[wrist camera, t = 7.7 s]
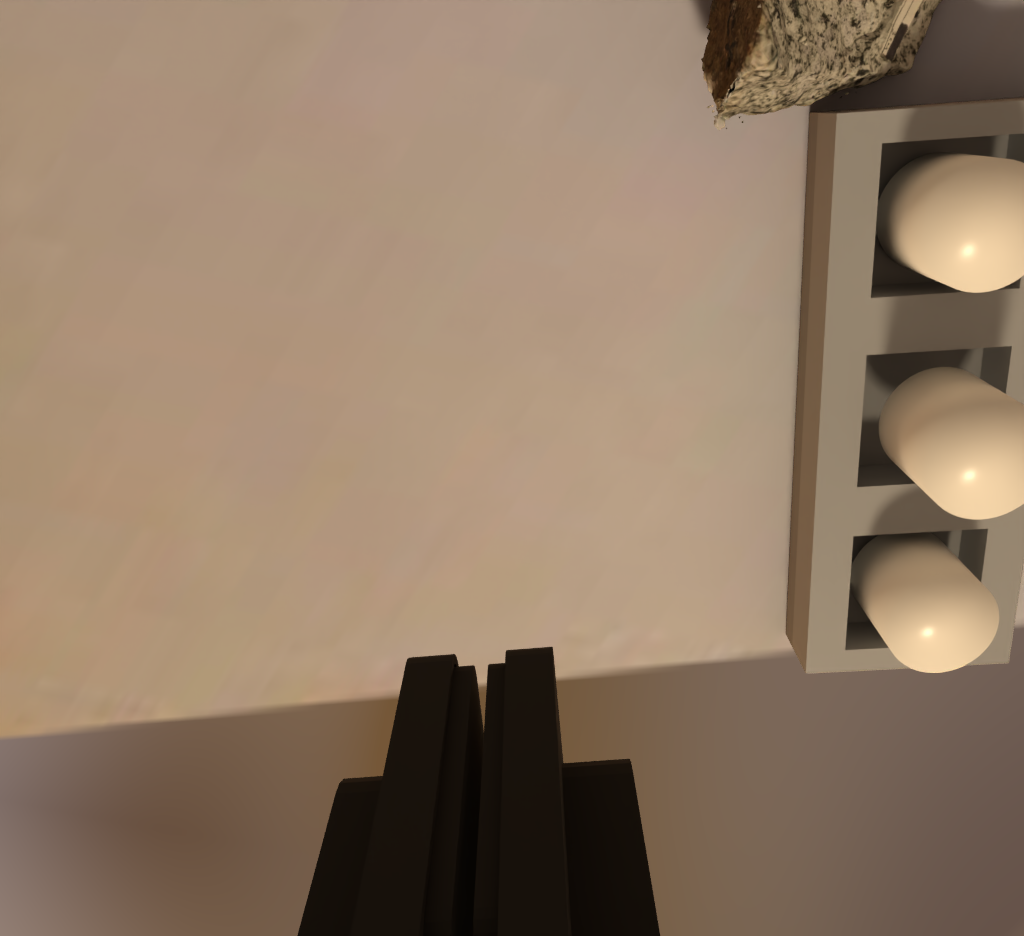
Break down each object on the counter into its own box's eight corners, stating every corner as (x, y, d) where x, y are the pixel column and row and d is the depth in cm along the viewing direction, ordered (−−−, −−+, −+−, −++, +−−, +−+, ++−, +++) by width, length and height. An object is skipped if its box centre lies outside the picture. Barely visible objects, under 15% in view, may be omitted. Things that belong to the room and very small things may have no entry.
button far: (853, 530, 37) (890, 579, 33) (956, 524, 36) (1005, 573, 33) (846, 619, 38) (882, 675, 34) (946, 614, 38) (992, 669, 34)
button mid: (883, 370, 32) (930, 404, 29) (999, 363, 32) (1062, 397, 28) (874, 476, 34) (918, 523, 30) (986, 470, 34) (1044, 516, 30)
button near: (879, 156, 31) (928, 163, 28) (999, 147, 31) (1064, 153, 28) (871, 275, 33) (916, 296, 29) (985, 267, 33) (1045, 288, 29)
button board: (809, 112, 32) (836, 113, 30) (1043, 96, 32) (1092, 95, 29) (786, 633, 40) (805, 673, 37) (974, 624, 40) (1008, 663, 37)
